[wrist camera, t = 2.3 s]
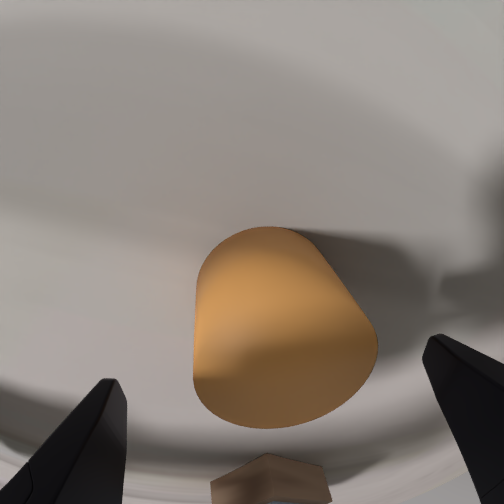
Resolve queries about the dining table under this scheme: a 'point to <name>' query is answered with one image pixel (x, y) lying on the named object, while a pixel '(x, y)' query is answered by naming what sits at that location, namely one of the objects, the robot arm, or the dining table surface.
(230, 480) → the walnut base block
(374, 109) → the dining table surface
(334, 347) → the orange cylinder
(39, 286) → the dining table surface
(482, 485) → the robot arm
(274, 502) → the slate top block
